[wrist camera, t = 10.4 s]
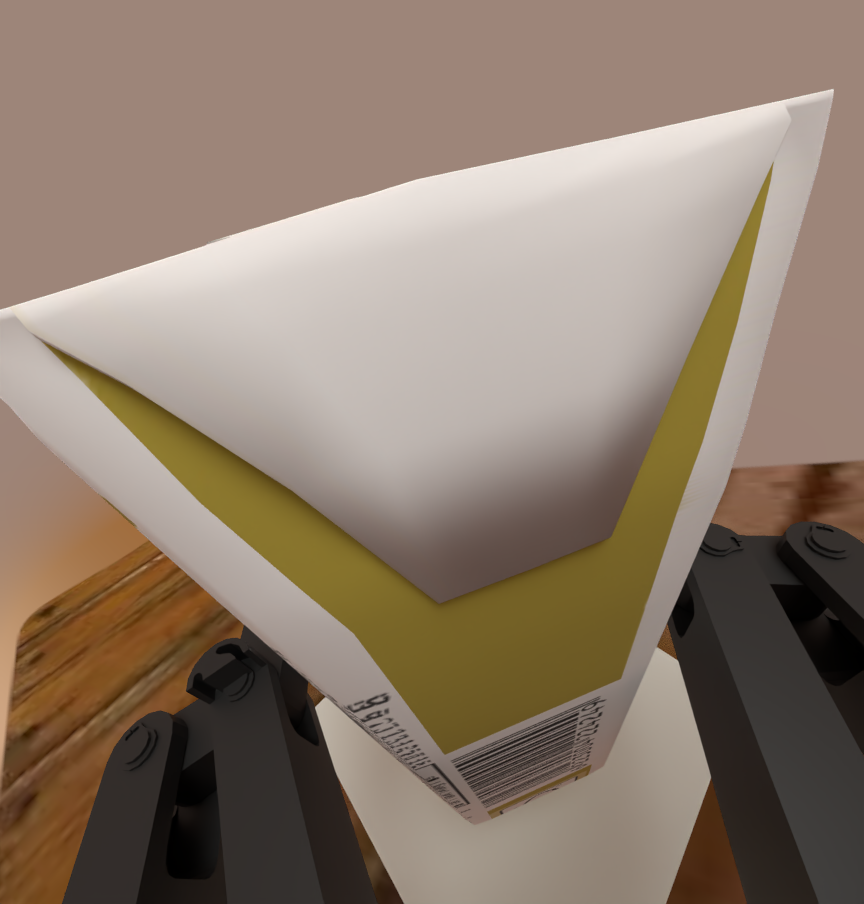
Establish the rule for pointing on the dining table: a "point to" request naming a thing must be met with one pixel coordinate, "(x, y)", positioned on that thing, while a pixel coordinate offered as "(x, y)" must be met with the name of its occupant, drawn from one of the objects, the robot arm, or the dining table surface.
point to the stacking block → (541, 814)
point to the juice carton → (447, 427)
